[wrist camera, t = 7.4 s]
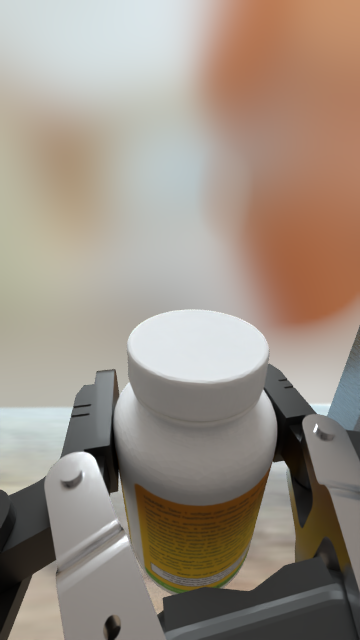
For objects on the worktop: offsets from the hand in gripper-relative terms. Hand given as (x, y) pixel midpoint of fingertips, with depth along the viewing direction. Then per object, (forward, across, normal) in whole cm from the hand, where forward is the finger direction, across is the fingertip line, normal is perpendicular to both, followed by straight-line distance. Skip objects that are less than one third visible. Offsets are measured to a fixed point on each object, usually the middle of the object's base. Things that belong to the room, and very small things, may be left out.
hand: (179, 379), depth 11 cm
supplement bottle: (-3, 0, +6) cm, 7 cm away
